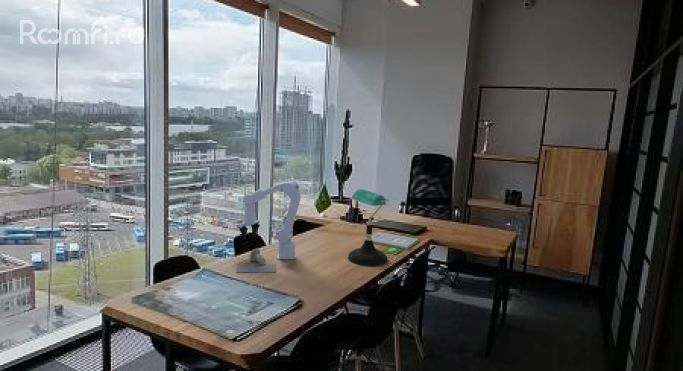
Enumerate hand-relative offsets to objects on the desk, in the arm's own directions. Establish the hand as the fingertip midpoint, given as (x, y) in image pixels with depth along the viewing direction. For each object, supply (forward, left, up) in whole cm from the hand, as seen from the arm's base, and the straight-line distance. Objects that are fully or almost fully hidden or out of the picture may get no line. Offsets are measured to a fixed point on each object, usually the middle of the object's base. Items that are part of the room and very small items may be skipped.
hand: (249, 237), depth 250 cm
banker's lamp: (-68, +11, -10) cm, 70 cm away
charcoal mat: (-6, +27, -9) cm, 29 cm away
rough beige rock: (-6, +16, -9) cm, 19 cm away
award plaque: (-93, -27, -10) cm, 97 cm away
